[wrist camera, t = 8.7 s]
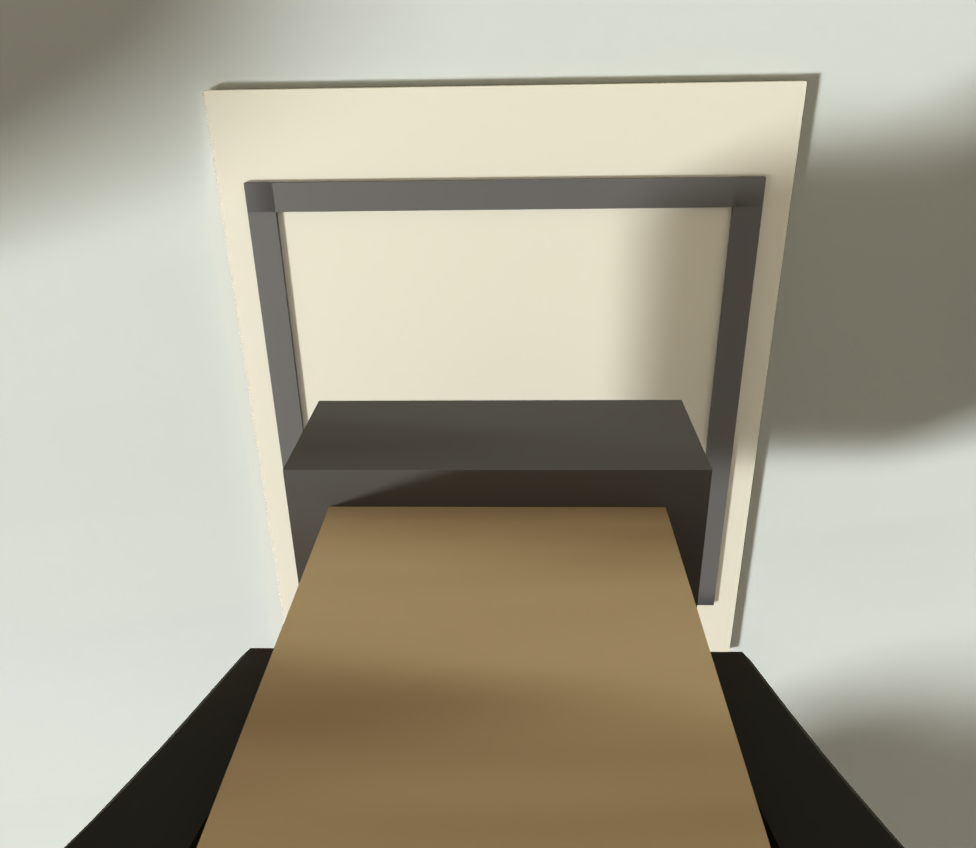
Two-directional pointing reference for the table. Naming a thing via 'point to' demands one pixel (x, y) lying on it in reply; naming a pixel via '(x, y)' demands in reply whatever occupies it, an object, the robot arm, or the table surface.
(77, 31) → the table surface
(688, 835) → the stamp
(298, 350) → the marked card
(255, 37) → the table surface
